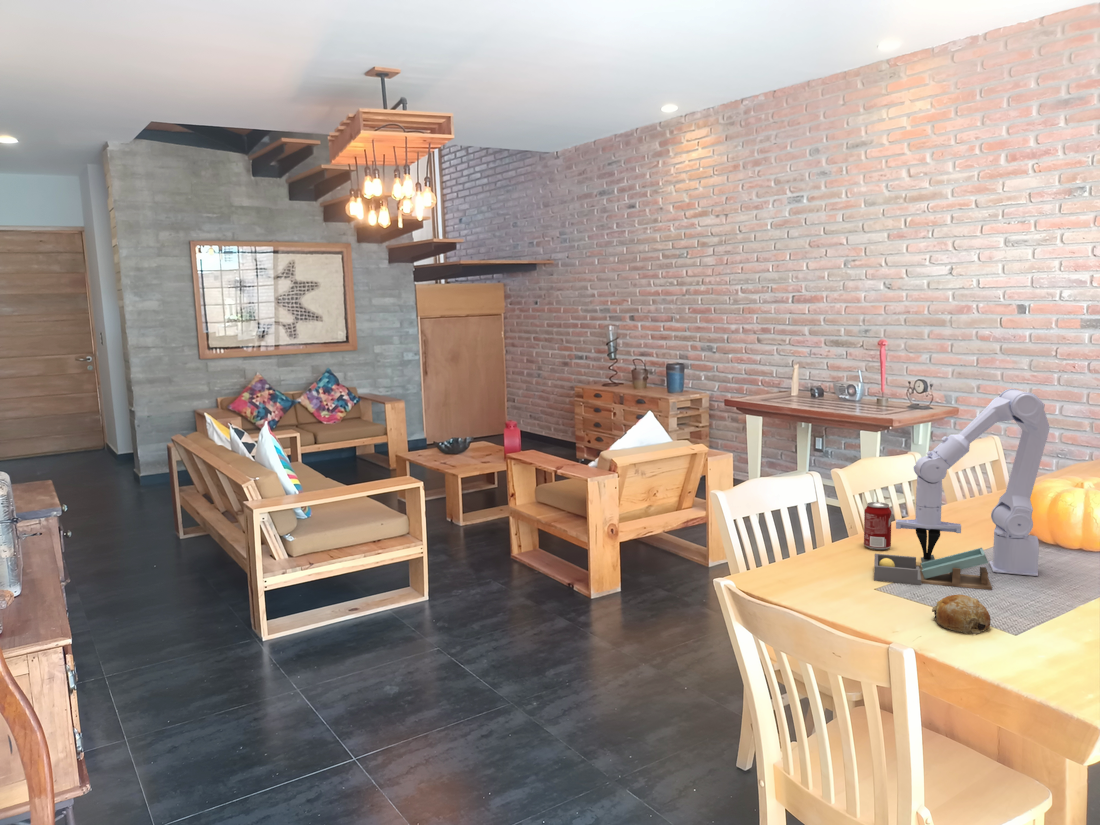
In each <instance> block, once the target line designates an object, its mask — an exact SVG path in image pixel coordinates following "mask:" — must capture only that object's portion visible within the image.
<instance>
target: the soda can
mask: <svg viewBox="0 0 1100 825" xmlns="http://www.w3.org/2000/svg"><path fill="white" fill-rule="evenodd" d="M866 504H867V505H866V507H865V508H864V511H863V512H864V514H863V516H864V520H863V522H864V523H863V532H864V533H863V546H865V547H867V548H868V549H870V550H873V551H887V549H889V548H891V546H892V516H893V514H892V510H891V508H890V504H889V503H887V502H880V501H879V502H878V501H870V502H867V503H866Z"/></svg>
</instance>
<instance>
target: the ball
mask: <svg viewBox="0 0 1100 825" xmlns="http://www.w3.org/2000/svg"><path fill="white" fill-rule="evenodd" d="M879 566H887V567H895V564H894V562H893V561H892V560H891V559H889V558H884V559H882V560H881V561H880V562H879Z"/></svg>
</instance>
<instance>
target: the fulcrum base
mask: <svg viewBox="0 0 1100 825" xmlns="http://www.w3.org/2000/svg"><path fill="white" fill-rule="evenodd" d="M961 571H962V570H961V569H960V568H953V572H950V573H946V574H942V575H938V576H934V577H930V578H926V579H925V578H924V575H923V573H922V569H920V575H921V584H924V585H927V584H928V585H933V586H934V585H935V586H936V585H937V586H946V587H957V588H968V589H979V590H990V591H992V590H993V587H992V586H993V585H992V584H991V581H990V578H989V572H988V569H987V567H983V566H980V567H979V575H977V574H975V575H974V574H965V573H962V572H961Z"/></svg>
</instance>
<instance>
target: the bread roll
mask: <svg viewBox="0 0 1100 825" xmlns="http://www.w3.org/2000/svg"><path fill="white" fill-rule="evenodd" d="M931 612H932V613H933V612H934V618H933V619H934V620H935V622H936V623H937V624H938V625H939V626H940V627H942V628H943V629H945V630H946V629H947V630H950V631H953V632H955V633H957V632H958V633H963V634H971V635H972V634H973V635H977V634H980V633H983V632H984V631H985V630H987V629H989V628H990V626H991V621H992V620H991V616H990V612H989V611H988V610H987V608H986V606H985V605H983V604H982V603H981V602H980V601H979V599H978V598H975V597H971V596H968V595H965V594H952V595H947V596H946V597H943V598H942V599H941V600H938V601H936V605H934V606H933V607H932V609H931Z"/></svg>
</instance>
